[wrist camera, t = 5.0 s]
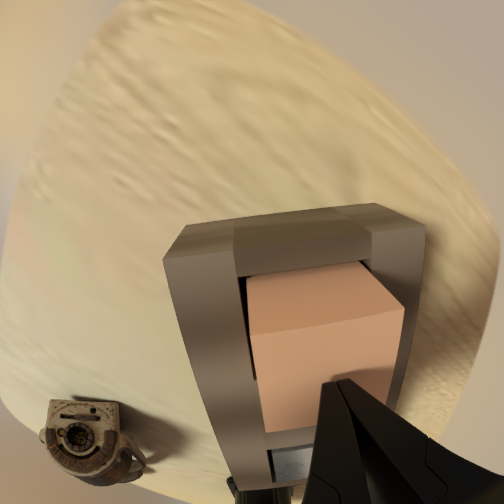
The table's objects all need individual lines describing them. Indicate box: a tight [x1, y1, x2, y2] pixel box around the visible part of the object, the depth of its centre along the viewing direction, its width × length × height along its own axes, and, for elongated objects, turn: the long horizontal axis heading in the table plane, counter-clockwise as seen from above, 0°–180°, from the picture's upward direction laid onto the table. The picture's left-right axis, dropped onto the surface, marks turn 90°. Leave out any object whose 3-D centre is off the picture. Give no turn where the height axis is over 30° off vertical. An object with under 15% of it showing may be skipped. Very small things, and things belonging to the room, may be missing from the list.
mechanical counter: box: [39, 399, 146, 486], centre depth 17 cm, size 7×13×10 cm
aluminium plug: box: [272, 443, 314, 482], centre depth 17 cm, size 4×4×5 cm
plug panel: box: [162, 203, 426, 491], centre depth 15 cm, size 18×10×5 cm, turn 7°
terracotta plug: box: [246, 261, 405, 433], centre depth 10 cm, size 4×4×5 cm
